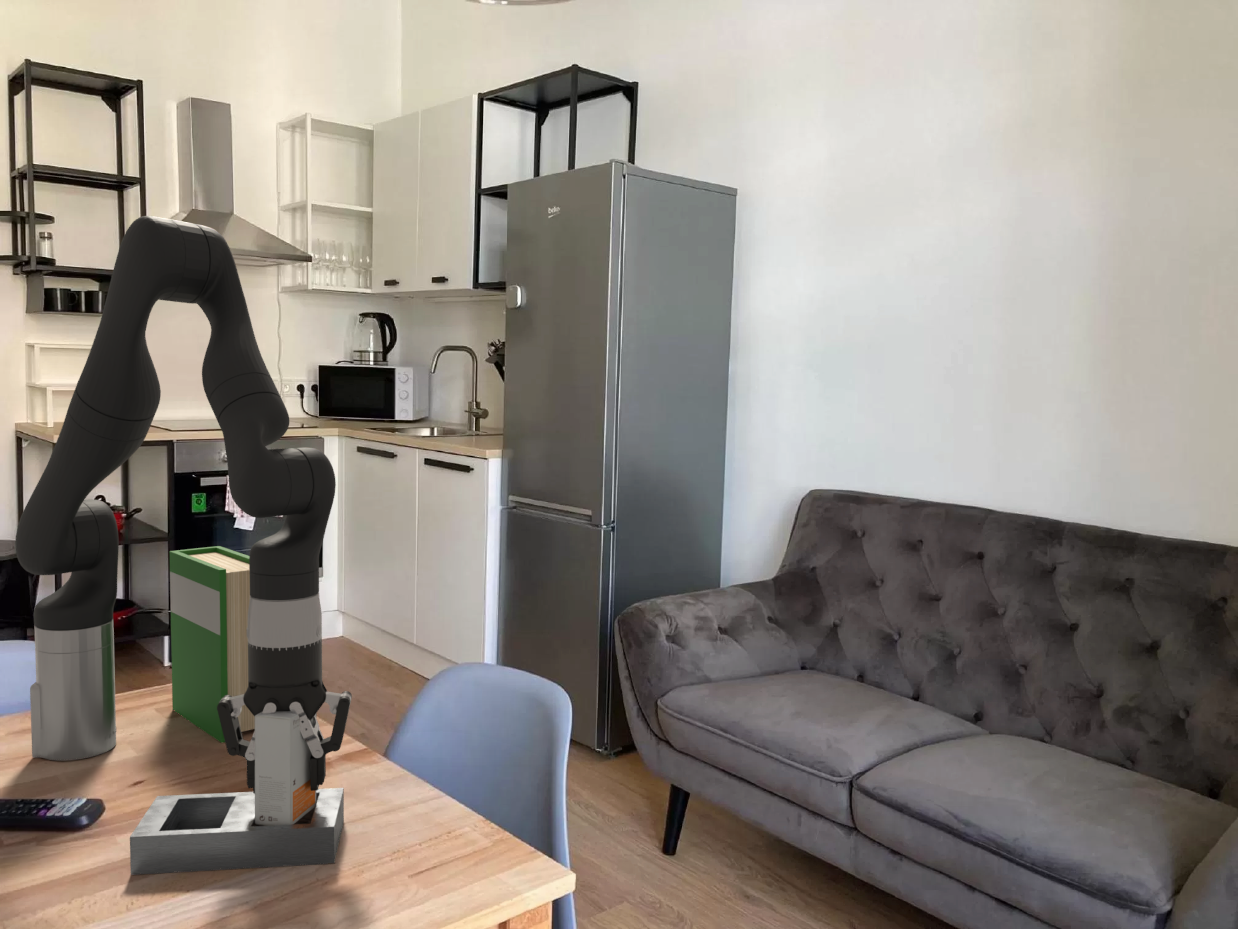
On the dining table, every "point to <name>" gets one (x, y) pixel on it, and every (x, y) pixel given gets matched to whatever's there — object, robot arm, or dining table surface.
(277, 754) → the skincare box
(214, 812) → the holder
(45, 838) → the dining table surface
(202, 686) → the hardback book
